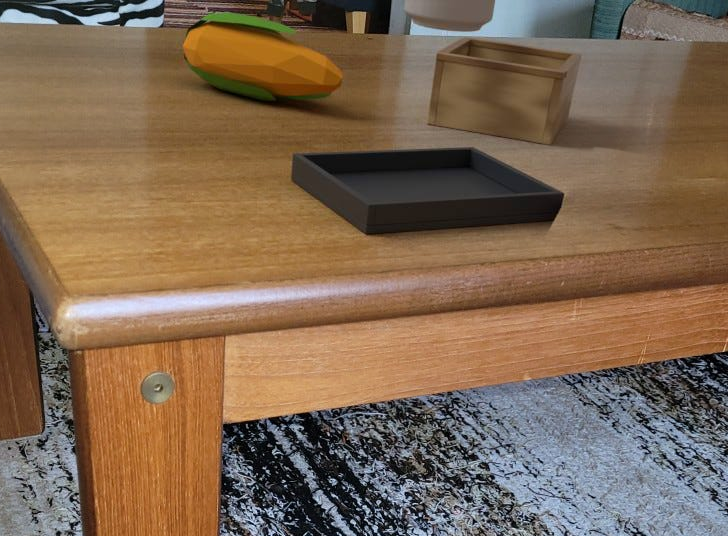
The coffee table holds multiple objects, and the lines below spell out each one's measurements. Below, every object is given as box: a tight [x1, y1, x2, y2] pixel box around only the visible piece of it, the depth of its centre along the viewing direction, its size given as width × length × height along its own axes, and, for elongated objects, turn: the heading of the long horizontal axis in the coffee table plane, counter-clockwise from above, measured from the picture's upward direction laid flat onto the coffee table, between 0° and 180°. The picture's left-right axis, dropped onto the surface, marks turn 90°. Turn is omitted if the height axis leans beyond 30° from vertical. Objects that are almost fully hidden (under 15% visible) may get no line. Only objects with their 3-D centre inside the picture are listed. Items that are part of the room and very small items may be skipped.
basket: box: [426, 36, 583, 146], centre depth 102 cm, size 13×13×7 cm
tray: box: [290, 146, 565, 235], centre depth 78 cm, size 17×13×2 cm
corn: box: [182, 12, 344, 102], centre depth 101 cm, size 7×8×20 cm
